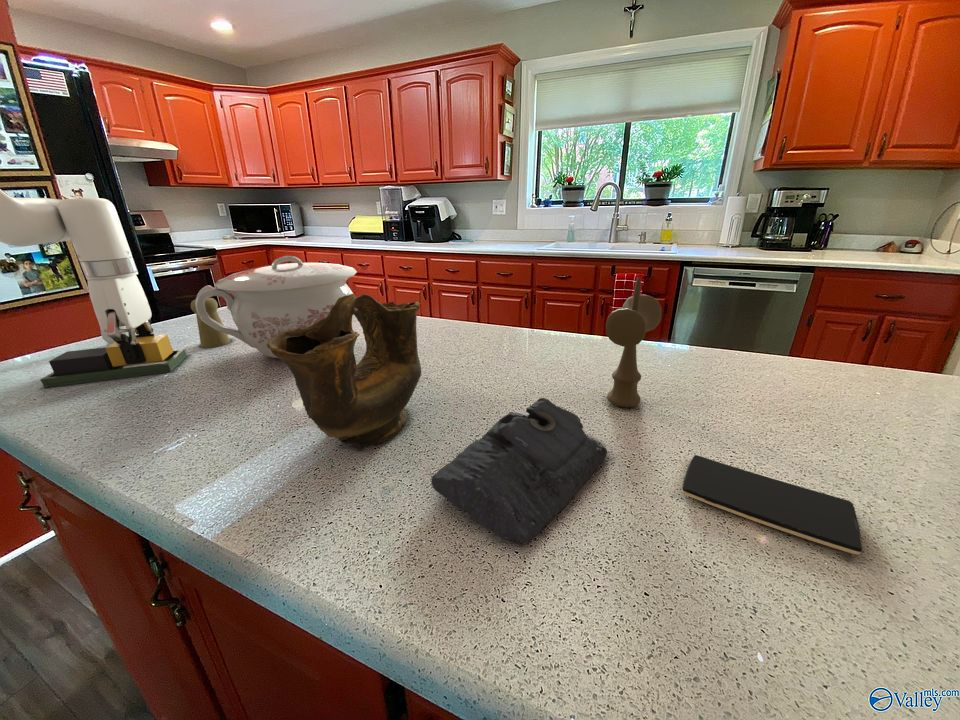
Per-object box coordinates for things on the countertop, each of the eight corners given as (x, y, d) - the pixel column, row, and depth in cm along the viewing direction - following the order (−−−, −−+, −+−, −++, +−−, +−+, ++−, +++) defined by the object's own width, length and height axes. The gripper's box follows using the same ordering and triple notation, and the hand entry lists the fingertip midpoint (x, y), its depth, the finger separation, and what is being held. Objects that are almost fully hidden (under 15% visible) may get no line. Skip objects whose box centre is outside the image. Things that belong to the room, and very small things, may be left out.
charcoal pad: (57, 380, 76) (48, 361, 75) (75, 369, 81) (66, 351, 79) (110, 373, 78) (102, 355, 77) (124, 363, 83) (117, 346, 82)
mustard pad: (112, 366, 78) (105, 347, 77) (126, 357, 83) (119, 339, 81) (162, 361, 80) (156, 342, 79) (173, 351, 85) (167, 334, 84)
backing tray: (44, 387, 74) (39, 379, 74) (73, 369, 82) (70, 361, 82) (170, 371, 80) (168, 364, 79) (187, 356, 88) (184, 349, 87)
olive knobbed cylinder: (197, 348, 92) (182, 302, 88) (206, 340, 97) (192, 296, 93) (225, 345, 93) (212, 300, 89) (233, 337, 99) (221, 294, 95)
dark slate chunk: (411, 491, 45) (407, 457, 44) (518, 413, 61) (518, 385, 59) (523, 560, 36) (524, 521, 35) (615, 448, 52) (618, 416, 50)
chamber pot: (383, 329, 101) (372, 246, 93) (336, 374, 76) (316, 266, 68) (280, 329, 104) (261, 248, 96) (203, 372, 79) (168, 267, 71)
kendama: (650, 394, 65) (669, 273, 58) (634, 420, 58) (653, 285, 50) (613, 386, 69) (627, 270, 61) (594, 409, 61) (606, 281, 54)
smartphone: (692, 453, 48) (855, 501, 40) (690, 460, 49) (851, 510, 41) (680, 487, 43) (865, 551, 35) (678, 495, 43) (861, 561, 35)
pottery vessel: (348, 490, 46) (316, 327, 38) (276, 471, 49) (234, 318, 42) (441, 394, 67) (433, 278, 60) (387, 386, 71) (372, 275, 63)
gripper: (110, 263, 81) (141, 346, 88) (56, 278, 66) (98, 376, 73) (153, 261, 83) (180, 342, 90) (110, 274, 68) (146, 371, 75)
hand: (143, 356), depth 81 cm, fingers closed on mustard pad, 5 cm apart
